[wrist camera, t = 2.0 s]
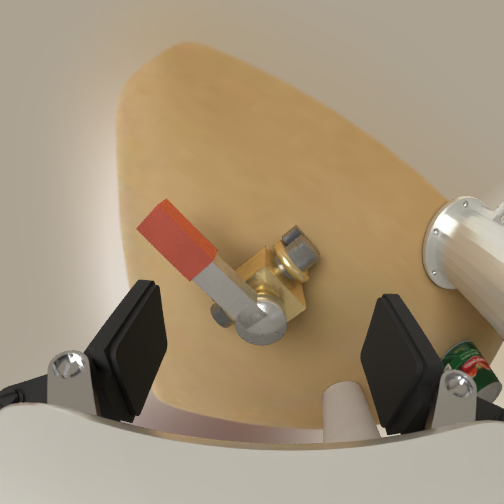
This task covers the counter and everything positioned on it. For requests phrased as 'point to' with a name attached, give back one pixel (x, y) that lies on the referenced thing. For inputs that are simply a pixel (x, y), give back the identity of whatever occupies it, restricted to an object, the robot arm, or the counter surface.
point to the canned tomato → (473, 368)
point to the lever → (214, 275)
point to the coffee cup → (347, 414)
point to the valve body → (277, 274)
